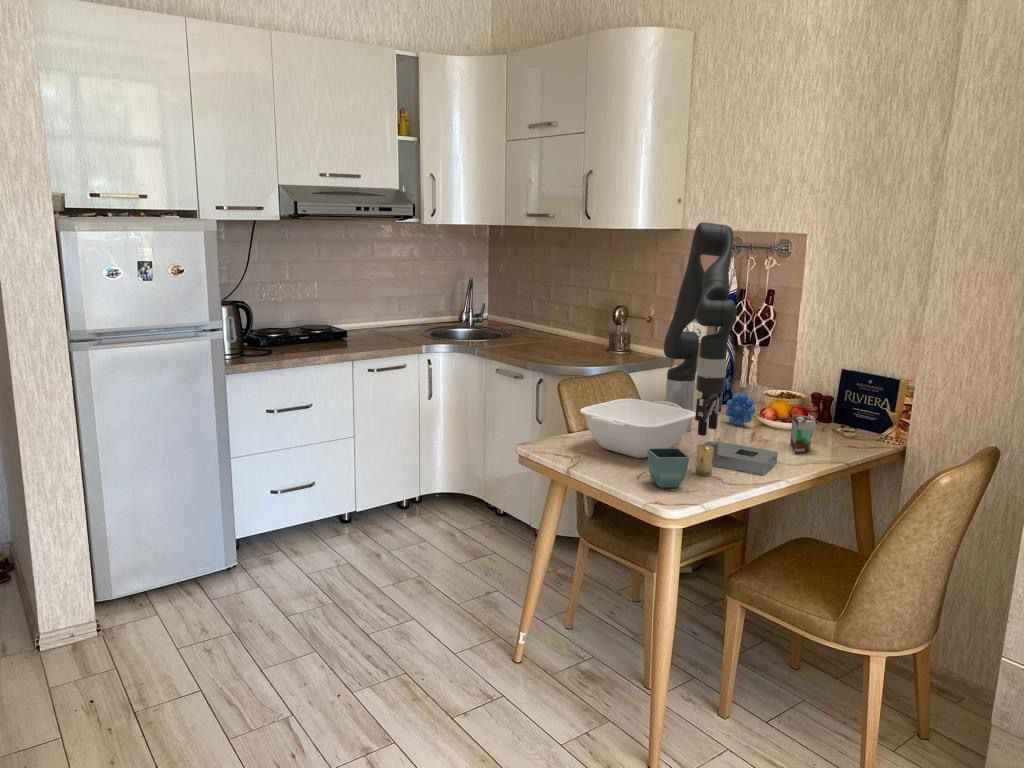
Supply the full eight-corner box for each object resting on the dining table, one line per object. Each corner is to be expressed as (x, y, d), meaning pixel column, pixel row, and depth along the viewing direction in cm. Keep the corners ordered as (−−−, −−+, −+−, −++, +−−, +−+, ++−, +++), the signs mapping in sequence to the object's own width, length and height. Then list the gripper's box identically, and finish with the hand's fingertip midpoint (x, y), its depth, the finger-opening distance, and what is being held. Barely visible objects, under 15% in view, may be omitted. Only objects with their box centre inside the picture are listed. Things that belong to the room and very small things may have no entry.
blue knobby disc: (760, 427, 268) (763, 393, 265) (749, 430, 264) (752, 396, 261) (732, 420, 277) (734, 387, 274) (720, 423, 272) (723, 389, 270)
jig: (700, 463, 226) (702, 443, 225) (716, 452, 238) (718, 433, 236) (763, 475, 216) (765, 454, 215) (776, 463, 228) (778, 443, 227)
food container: (816, 456, 236) (820, 424, 233) (795, 455, 237) (798, 423, 235) (809, 445, 247) (813, 415, 245) (789, 444, 249) (792, 413, 246)
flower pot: (675, 479, 212) (678, 447, 210) (688, 490, 203) (690, 457, 201) (644, 480, 210) (646, 448, 209) (655, 491, 202) (657, 458, 200)
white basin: (631, 431, 260) (633, 394, 257) (706, 449, 240) (709, 409, 237) (563, 450, 236) (565, 410, 233) (640, 473, 216) (643, 429, 214)
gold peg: (693, 474, 216) (695, 447, 214) (698, 470, 219) (700, 443, 218) (708, 477, 214) (710, 449, 212) (713, 473, 217) (716, 446, 215)
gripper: (706, 368, 219) (702, 424, 222) (688, 376, 207) (684, 435, 210) (733, 371, 215) (728, 428, 218) (716, 379, 203) (711, 439, 206)
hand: (707, 432), depth 214 cm, fingers open, 8 cm apart
